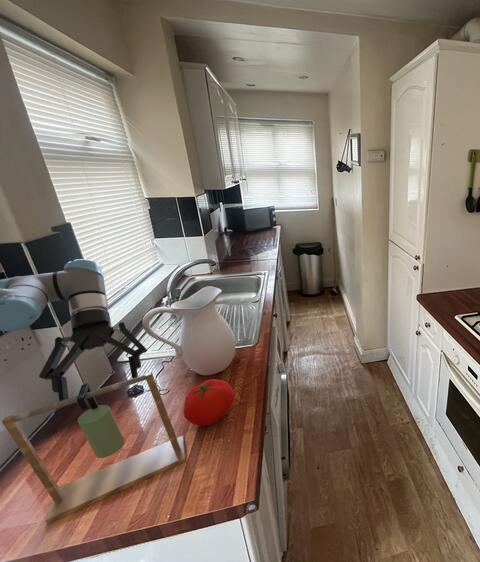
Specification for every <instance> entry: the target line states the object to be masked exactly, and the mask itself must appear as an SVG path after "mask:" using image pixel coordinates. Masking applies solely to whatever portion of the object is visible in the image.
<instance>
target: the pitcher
mask: <svg viewBox="0 0 480 562" xmlns="http://www.w3.org/2000/svg"><path fill="white" fill-rule="evenodd" d="M222 292H223V290H222V289H221V288H218V287H215V286H211V285H207V286H205V287H202V288H201V289H200V290H198V291H196V292H195V293H193V294H191V295H190V296H189V297H187V298H185V299H181V300H178V301H175V302H173V303H172V304H171V305H170V307H167V306H160V307H155V308H153V309H150V310H148V311H147V312H146V313H145V315H144V316H143V318H142V328H143V330H144V332H145V333H146V334H147V335H149V336H150V337H151V338H153V339H155V340H157V341H159V342H162V343H164V344H167V345H169V346H170V347H172V348H173V349H174V350H175V354H174V360H177V359H179V358H180V357H181V358H182V360H183V362H184V364H185V365H186V367H188V369H190V370H191V371H193V373H196V374H198V375H199V376H200V375H201V376H213V375H217V374H219V373H222V372H223V371H224V370H226V369H227V368H228V367H229V366H230V365H231V363H232V362H233V359H234V356H235V353H236V338H235V334H234V332H233V330H232V327H231V326H230V324H229V323H228V322H227V320H226V319H225V318H224V317H223V316H222V314H221V313H220V312H219V311H218V309H217V306H216V302H217V300H218V298H219V296H220V295H221V294H222ZM163 313H165V314H167V313H168V314H172V315H174V316H175V318H176V319H179V320H180V319H181V326H180V331H179V337H178V343H176V342H174V341H172V340H170V339H168V338H166V337H164V336H161V335H160V334H158V333H156V332H155V331H154V329H152V328H151V325H150V324H151V323H150V322H151V319H152V318H153V317H155V316H156V315H158V314H163Z"/></svg>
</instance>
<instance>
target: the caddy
mask: <svg viewBox="0 0 480 562" xmlns="http://www.w3.org/2000/svg"><path fill="white" fill-rule="evenodd" d="M91 391H92V389H91V387H90V385H89V383H83V384H81V386H80V389H79V392H78V394H77V396H78V397H77V402H76V403H77V404H78V406H79V408H80V410H81V411H84V412H83V413H82V414H80V415H79V417H78V418H77V424H78V425H79V427H80V429H81V431H82V433H83V435H84V437H85V438H86V440H87V443H88V444H89V446H90V449H91V450H92V452H93V454H94V456H95V457H96V458H97V459H105V458H108V457H110V456H113V455H114V454H116V453H118V452H119V451H120V450H121V449H122V448H123V447H124V445H125V442H126V440H125V437H124V435H123V433H122V431H121V429H120V427H119V425H118V422H117V421H116V418H115V416H114V414H113V412H112V410H111V408H110V405H107V404H101V405H99V403H98V401H97V398H96V396H94V397H91V398H88V399H85V397H86V394H87V393H88V392H91ZM89 407H90V408H89ZM85 410H86V411H85Z"/></svg>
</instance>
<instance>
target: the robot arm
mask: <svg viewBox="0 0 480 562" xmlns="http://www.w3.org/2000/svg"><path fill="white" fill-rule="evenodd" d="M103 274H104V273H103V271H102V266H101V265H100V264H99V263H98V262H97V261H95V260H93V259H86V258H85V259H84V258H79V259H74V260H72V261H68V262H66V263H65V264H64V267H63V270H60V271H55V272H54V271H53V272H48V273H47V272H45V273H38V274H30V275H21V276H20V275H17V276H13V277H8V278H2V279H0V331H1V332H18V331H22V330H24V329H26V328H28V327H30V326H32V324H34V323H35V322H36V321H37V320H38V319H39V318H40V316H41V315H42V314H43V311H44V310H45V308H46V306H47V305H48V304H49V303H53V302H59V301H68V309H69V315H70V324H71V336H66V337H61V336H57V337H56V338H54V347H53V349H52V350H51V353H50V354H49V357H48V358H47V360H46V362H45V364H44V366H42V367H43V368H42V369H41V371H40V373H39V375H38V376H39V379H42V380H45V381H49V380H51V390H52V392H53V393H56V394H57V393H58V394H57V395H58V402H59V401H62V400H66V399H69V398H70V397H69V388H68V381H67V377H66V376H64V375H65V374H66V373H67V371H68V370H69V369H70V368H71V366H72V365H73V364H74V363H75V361H76V360H77V359H78V358H79V357H80V356H81V355H82V354H84V352H85V350H88V351H90V350H93V349H96V348H101V347H105V346H106V345H107V344H110V345H111V346H114V347H115V348H117V349H119V350H121V351H123V352H124V353H127V354H128V355H130V356H127V358H128V363H129V369H130V375H131V379H132V378H135V377H139V374H138V369H141V368H142V363H141V355H143V354H145V353H147V352H148V349H147V348H146V346H144V344H142V343H141V341H139V340H138V339H137V338H136V337H135V336H134V334H132V333H131V332H130V331H129V328H128V325H126V323H125V322H123V321H121V322H119V323H118V324H117V325H114V326H112V321H111V317H110V316H111V315H110V312H109V303H108V298H107V292H106V284H105V277H104V275H103ZM115 332H117V333H119V334H123V335H124V336H125V337H126V338H127V339H128V340H129V341H130V342H131V343H132V344H133V345H134V346H135V347H136V348H137V349H133V348H132V347H130V346H128V345H126V344H124V343H122V342H120V341H118V340H117V339H114V337H113V335H114V334H115ZM71 342H73V343H74V344H73V345H72V347H71V348H70V350H69V351H68V353H67V354H66V355H65V356H64V358H62V357H63V355H64V353H65V352H66V348H67V347H68V346H69V345H70V343H71ZM61 359H62V360H61Z"/></svg>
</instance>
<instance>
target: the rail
mask: <svg viewBox="0 0 480 562" xmlns="http://www.w3.org/2000/svg"><path fill="white" fill-rule="evenodd" d="M143 381H146V383H147V385H148V388H149V390H150V394H151V395H152V398H153V401H154V404H155V405H156V408H157V411H158V414H159V416H160V418H161V421H162V424H163V426H164V429H165V431H166V434H167V437H168V439H169V440H168V441H165V442H163V443H160V444H159V445H158V444H157V445H156V446H153V447H151V448H149V449H146V450H144V451H141V452H139V453H136V454H134V455H132V456H129V457H127V458H124V459H121V460H120V461H118V462H114V463H113V464H110V465H108V466H105V467H103V468H101V469H97V470H96V471H94V472H91V473H89V474H86V475H84V476H82V477H79V478H77V479H74V480H71V481H70V482H66V483H65V484H62V485H60V486H59V485H58V483H57V482H56V480H55V479H54V477H53V476H52V475H51V473H50V471H49V470H48V468H47V467H46V465H45V464H44V462H43V461H42V458H41V457H40V455H39V454H38V452H37V451H36V449H35V448H34V446H33V445H32V443H31V441H30V439H29V438H28V437H27V435H26V433H25V432H24V430H23V429H22V427H21V425H20V424H19V422H20V421H23V420H26V419H29V418H33V417H35V416H38V415H42V414H44V413H47V412H51V411H54V410H57V409H60V408H64V407H67V406H69V405H72V404H76V403H78V402H77V397H78V395H75V396H71V397H69V399H66V400H62V401H59V400H58V401H56V402H53V403H49V404H46V405H44V406H40V407H37V408H34V409H31V410H28V411H25V412H21V413H17V414H15V415H13V414H11V415H8V416H5V417H3V419H2V421H1V423H2V425H3V426H4V428H5V429H6V431H7V432H8V434H9V435H10V437H11V438H12V440H13V441H14V443H15V444H16V446H17V447H18V449H19V450H20V452H21V453H22V455H23V457H24V458H25V459H26V461H27V462H28V464H29V466H30V467H31V468H32V470H33V472H34V473H35V475H36V476H37V478H38V479H39V480H40V482H41V484H42V485H43V487H44V488H45V490H46V491H47V493H48V494H49V496H50V497H51V501H50V504H49V507H48V510H47V512H46V515H45V519H44V521H45V523H46V524H47V525H48V524H50V523H51V524H52V523H53V522H55V521H57V520H60V519H61V518H64V517H67V516H68V515H71V514H73V513H75V512H78V511H79V510H82V509H84V508H86V507H88V506H90V505H92V504H95V503H97V502H100V501H101V500H103V499H106V498H108V497H110V496H112V495H115V494H117V493H119V492H121V491H123V490H126V489H128V488H130V487H133V486H134V485H136V484H137V485H138V484H139V483H141V482H143V481H145V480H147V479H151V478H152V477H154V476H157V475H159V474H161V473H163V472H165V471H167V470H169V469H172V468H174V467H176V466H178V465H180V464H183V463H185V462H187V455H186V444H185V436H184V435H183V434H182V435H180V436H177V435H176V433H175V430H174V427H173V425H172V422H171V419H170V416H169V414H168V412H167V409H166V406H165V403H164V400H163V398H162V396H161V395H162V394H161V393H160V391H159V388H158V385H157V382H156V380H155V377H154V375H153V372H152V371H149V372H145V373H144V374H143V375H138V377H135V378H132V377H131V378H129V379H125V380H123V381H120V382H117V383H114V384H110V385H107V386H104V387H101V388H98V389H94V390H91V392H88V393H87V394H86V397H85V399H86V400H87V399H88V398H91V397H97V396H101V395H104V394H107V393H110V392H112V391H115V390H120V389H122V388H125V387H128V386H131V385H135V384H137V383H142V382H143Z"/></svg>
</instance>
